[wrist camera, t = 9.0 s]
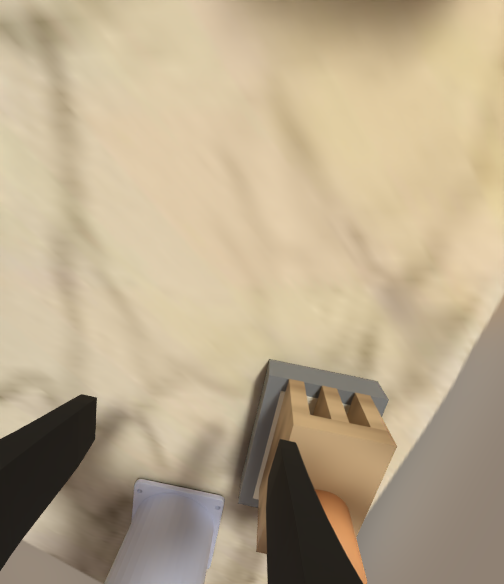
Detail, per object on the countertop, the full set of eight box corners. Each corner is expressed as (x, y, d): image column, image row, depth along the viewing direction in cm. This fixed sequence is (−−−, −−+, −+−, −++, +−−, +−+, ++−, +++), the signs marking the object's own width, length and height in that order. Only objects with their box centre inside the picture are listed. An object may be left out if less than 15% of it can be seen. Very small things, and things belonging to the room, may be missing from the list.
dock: (332, 498, 23) (337, 525, 21) (240, 479, 23) (238, 504, 21) (377, 381, 20) (389, 400, 18) (269, 359, 20) (269, 376, 18)
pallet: (328, 503, 21) (341, 569, 17) (259, 488, 21) (256, 551, 17) (370, 395, 18) (396, 446, 14) (289, 378, 18) (293, 424, 14)
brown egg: (337, 545, 16) (351, 616, 14) (272, 530, 16) (272, 598, 14) (359, 498, 15) (379, 565, 12) (288, 482, 15) (292, 545, 12)
